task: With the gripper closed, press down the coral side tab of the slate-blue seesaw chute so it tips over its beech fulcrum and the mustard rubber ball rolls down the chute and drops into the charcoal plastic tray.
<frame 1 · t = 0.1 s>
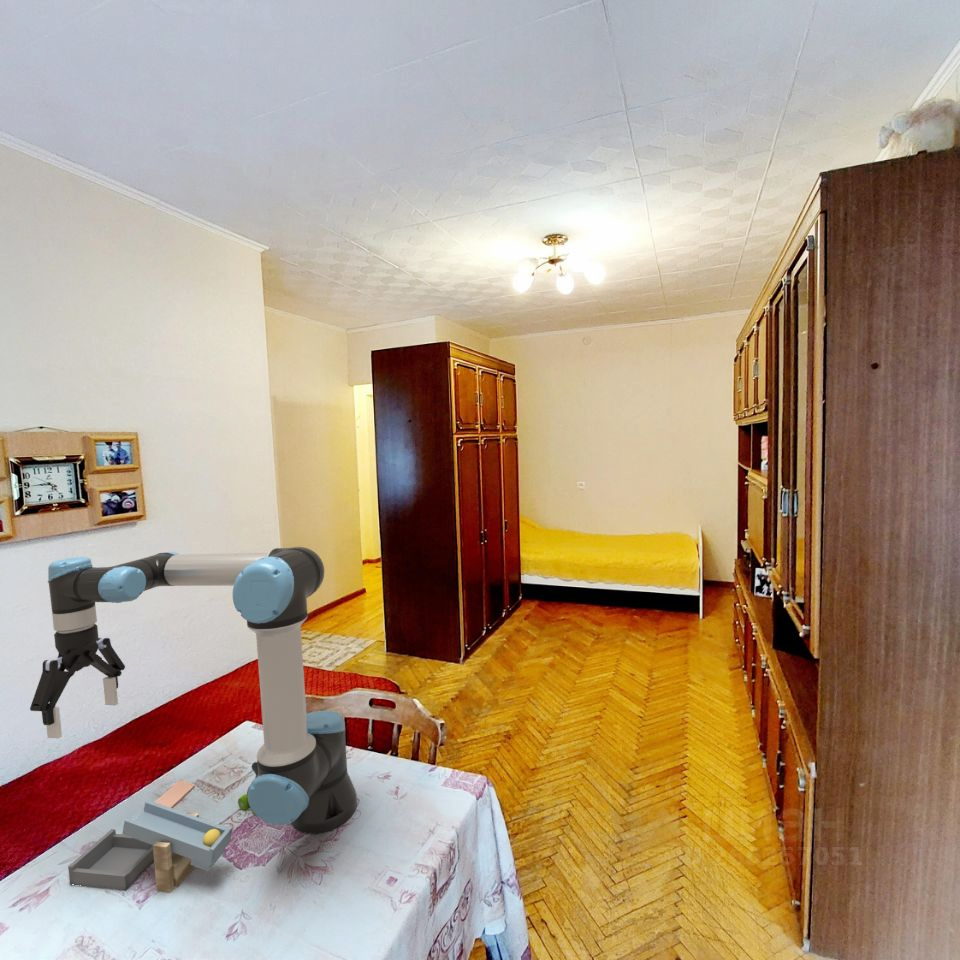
hand: (85, 720, 112), 28 cm above the table, fingers open, 13 cm apart
tray: (119, 867, 105), on the table
lever: (193, 818, 107), point 8 cm above the table, hinge at -15.0°, touching ball
fulcrum: (180, 872, 103), on the table
ball: (211, 838, 102), point 8 cm above the table, tilted 22°, touching lever
toy car: (264, 801, 124), on the table
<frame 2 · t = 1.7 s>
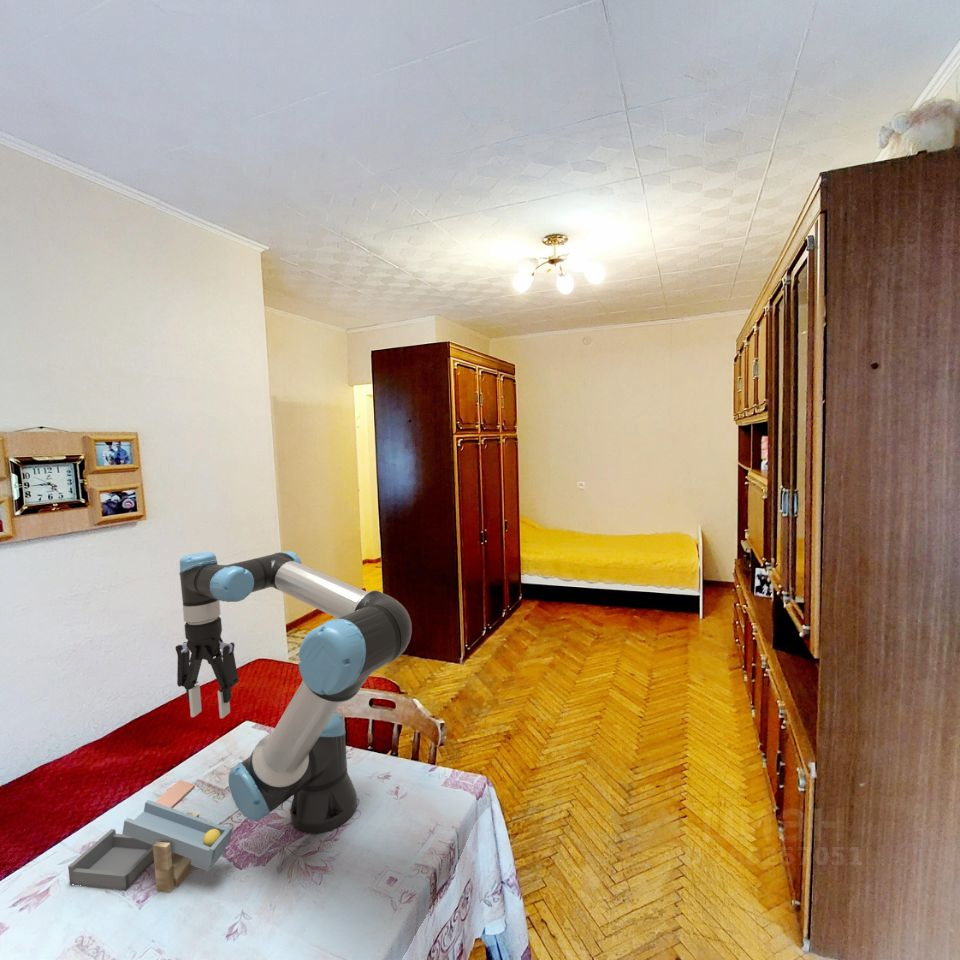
hand: (210, 714, 118), 25 cm above the table, fingers open, 7 cm apart
nothing on the table moved.
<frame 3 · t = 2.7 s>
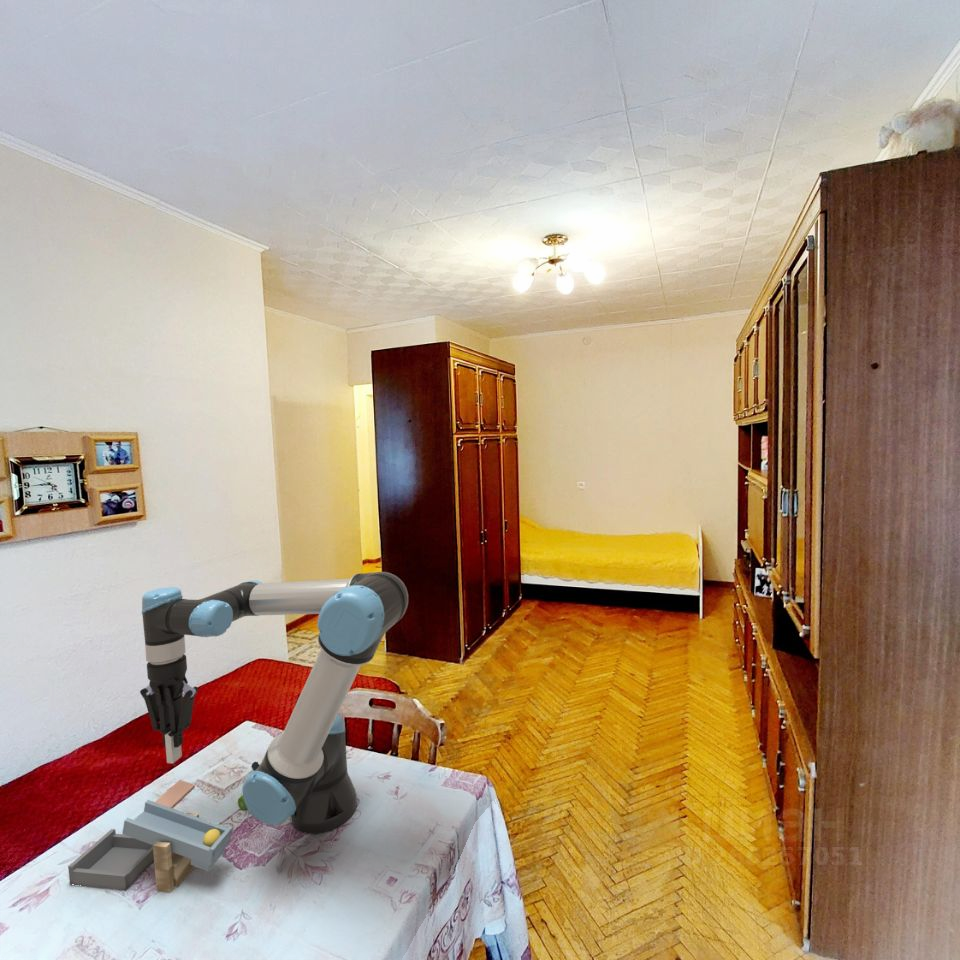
hand: (174, 759, 113), 18 cm above the table, fingers closed
nothing on the table moved.
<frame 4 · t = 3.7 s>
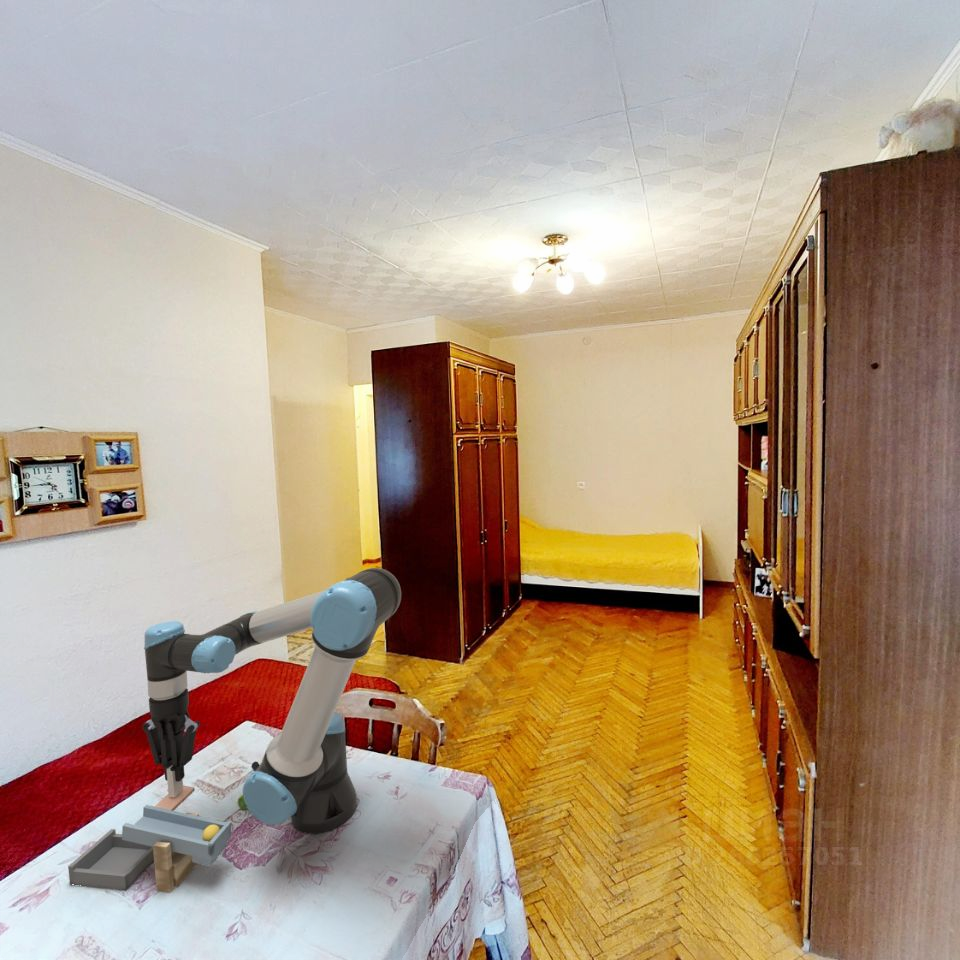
hand: (175, 793, 113), 10 cm above the table, fingers closed
lever: (193, 818, 107), point 8 cm above the table, hinge at -8.0°, touching ball, gripper
ball: (211, 834, 101), point 9 cm above the table, tilted 15°, touching lever
everything else where it was.
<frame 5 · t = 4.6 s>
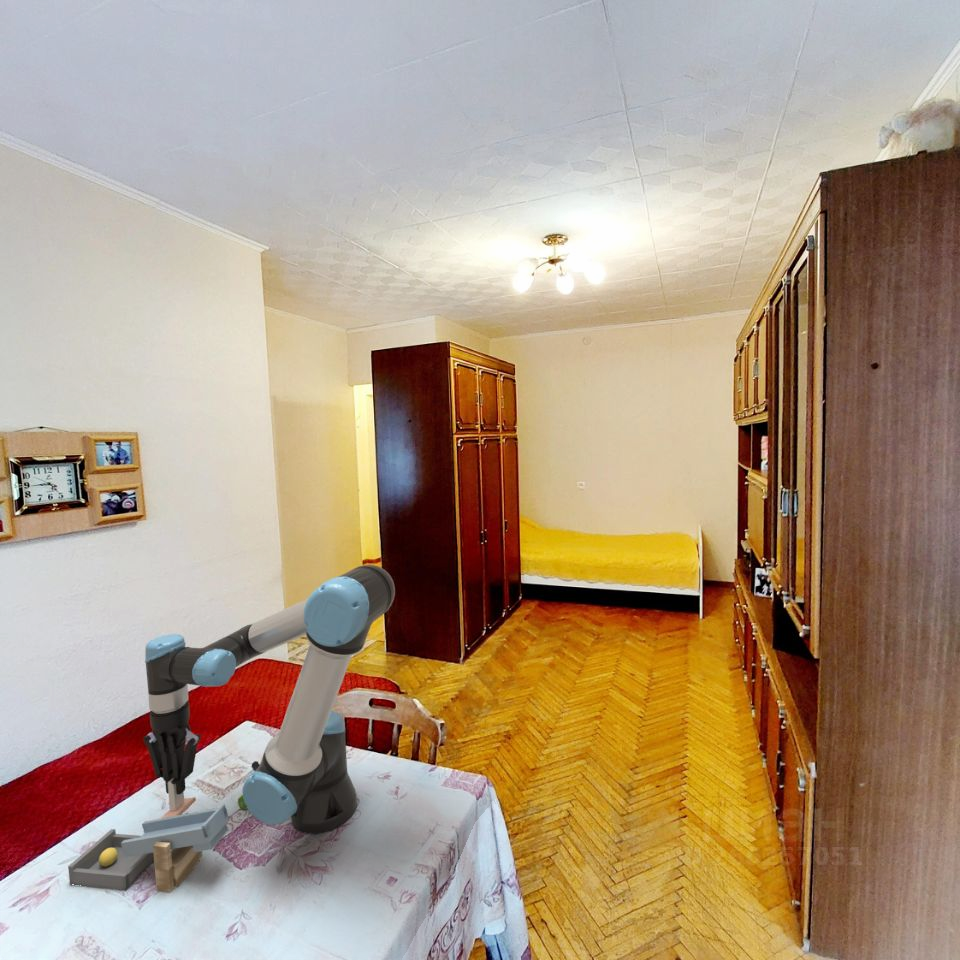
hand: (177, 805, 113), 7 cm above the table, fingers closed
lever: (192, 818, 107), point 8 cm above the table, hinge at 13.4°, touching gripper
ball: (108, 856, 106), point 2 cm above the table, tilted 166°, touching tray
everything else where it was.
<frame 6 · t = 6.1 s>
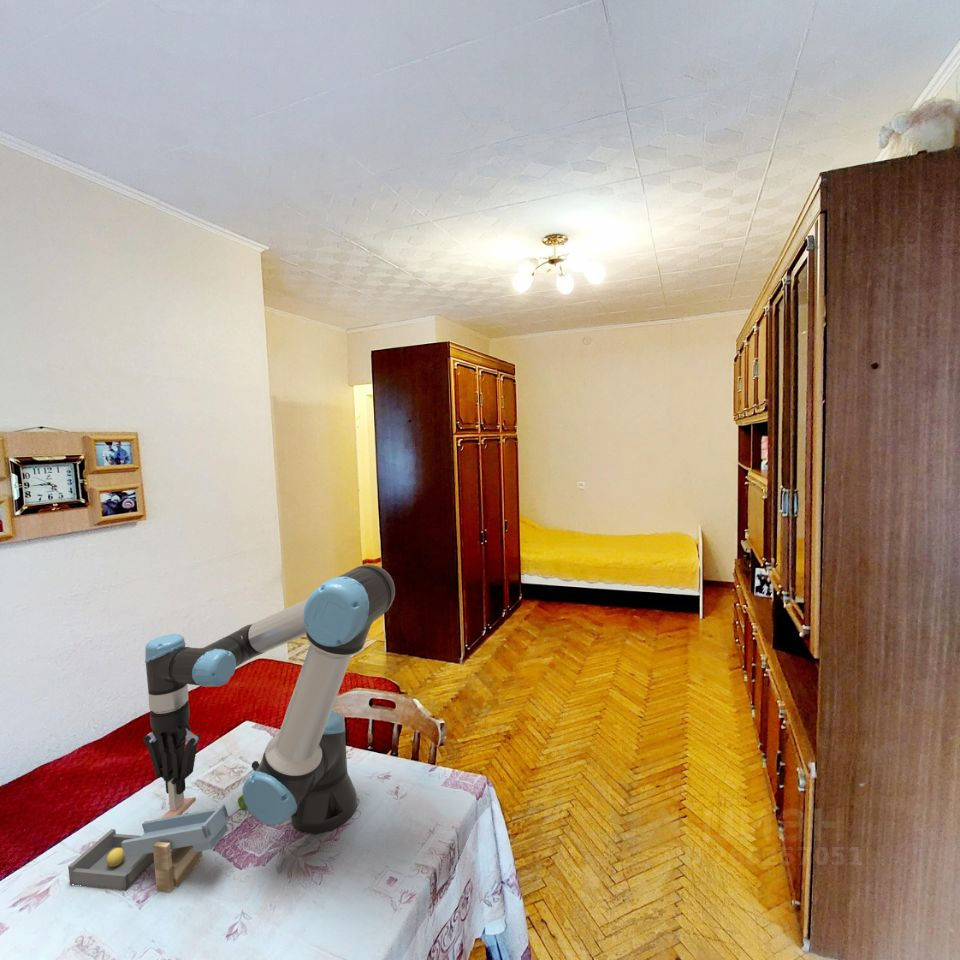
hand: (177, 805, 113), 7 cm above the table, fingers closed
ball: (115, 857, 105), point 2 cm above the table, tilted 151°, touching tray
everything else where it was.
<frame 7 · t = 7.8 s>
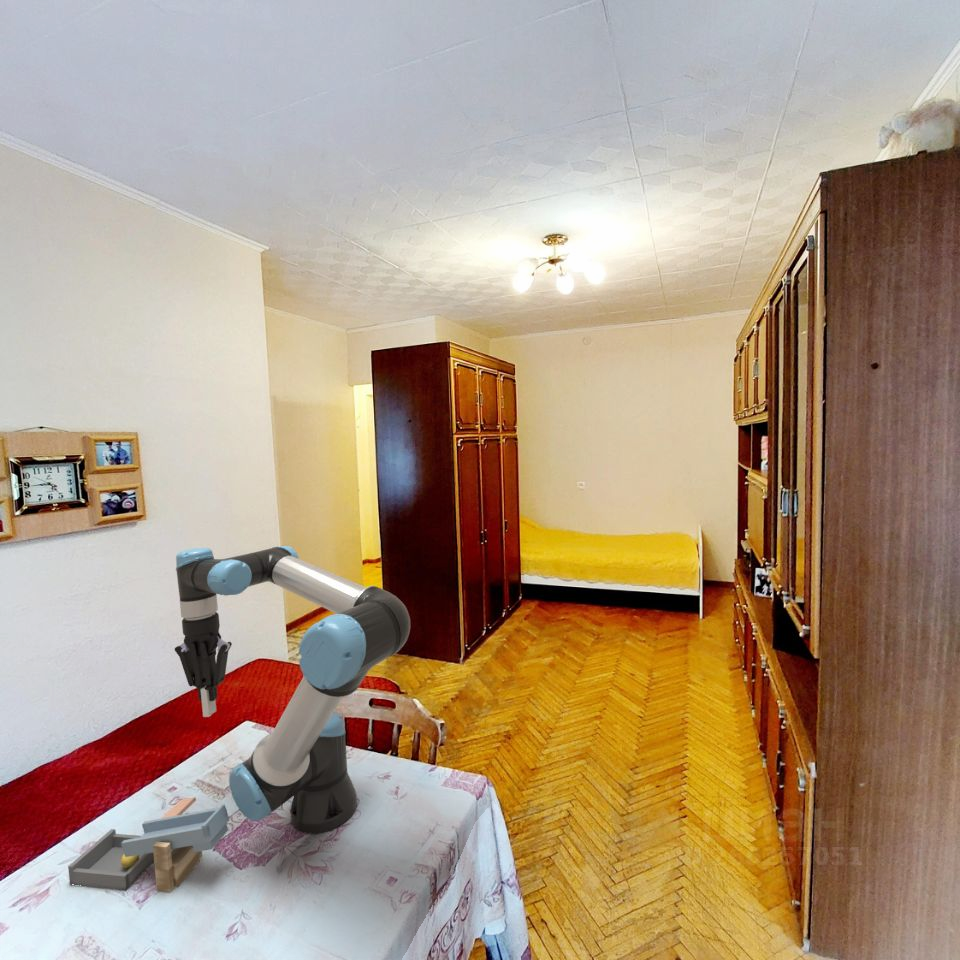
hand: (209, 713, 117), 26 cm above the table, fingers closed
lever: (192, 818, 107), point 8 cm above the table, hinge at 13.5°
ball: (130, 858, 105), point 2 cm above the table, tilted 27°, touching tray
everything else where it was.
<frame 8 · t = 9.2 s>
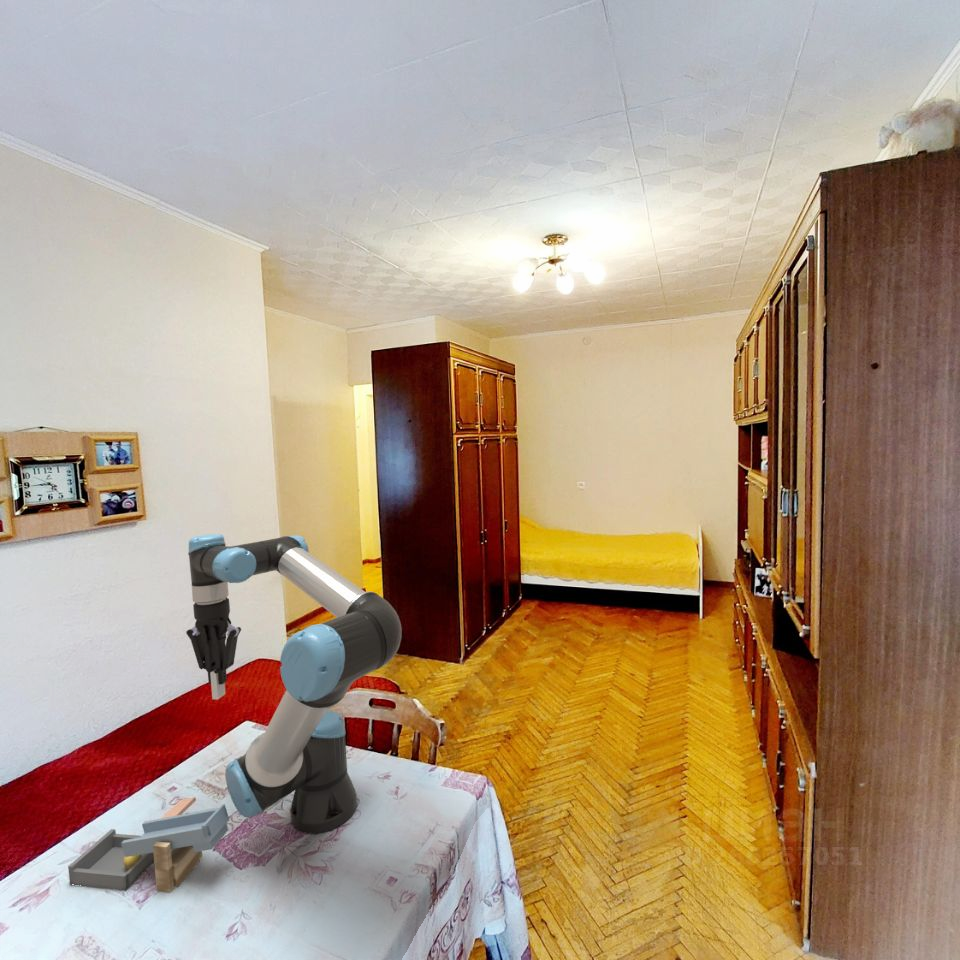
hand: (219, 696, 120), 28 cm above the table, fingers closed
ball: (132, 858, 105), point 2 cm above the table, tilted 6°, touching tray
everything else where it was.
at the end: ball inside the target area on the tray (3.2 cm from its centre), point 2.2 cm above the tray's base; ball touching tray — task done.
